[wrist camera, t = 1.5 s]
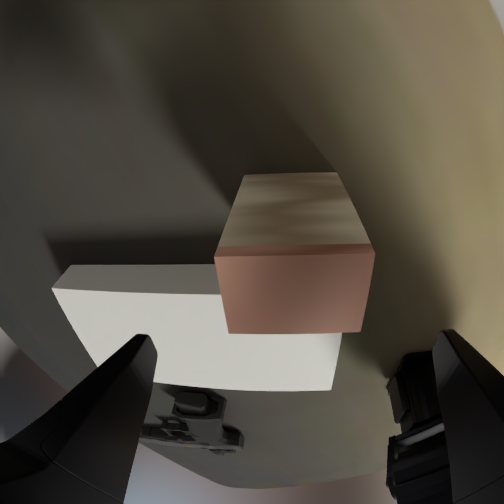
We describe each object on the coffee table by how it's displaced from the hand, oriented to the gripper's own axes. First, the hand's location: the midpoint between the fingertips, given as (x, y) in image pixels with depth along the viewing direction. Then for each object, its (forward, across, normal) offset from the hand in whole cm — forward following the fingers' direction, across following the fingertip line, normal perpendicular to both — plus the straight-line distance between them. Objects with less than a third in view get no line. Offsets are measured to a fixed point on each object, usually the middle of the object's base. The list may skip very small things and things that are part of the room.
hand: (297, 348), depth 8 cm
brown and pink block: (+10, 0, 0) cm, 10 cm away
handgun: (+11, +16, +28) cm, 34 cm away
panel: (+10, +7, +9) cm, 15 cm away
